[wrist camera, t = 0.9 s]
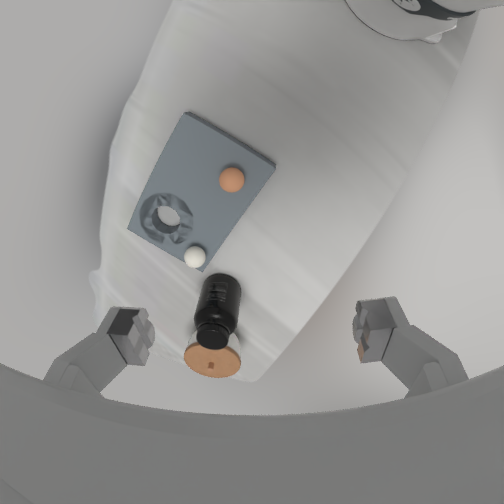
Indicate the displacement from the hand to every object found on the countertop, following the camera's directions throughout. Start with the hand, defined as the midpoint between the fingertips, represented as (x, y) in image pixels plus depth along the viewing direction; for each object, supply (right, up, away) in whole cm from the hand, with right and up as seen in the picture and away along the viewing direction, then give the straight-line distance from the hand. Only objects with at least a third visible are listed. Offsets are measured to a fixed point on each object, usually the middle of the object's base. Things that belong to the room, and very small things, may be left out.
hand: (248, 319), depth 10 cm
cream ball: (-8, +2, +31) cm, 32 cm away
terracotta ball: (-2, +12, +24) cm, 27 cm away
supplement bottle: (-5, -4, +39) cm, 39 cm away
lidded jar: (-7, -14, +45) cm, 48 cm away
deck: (-8, +11, +30) cm, 33 cm away
